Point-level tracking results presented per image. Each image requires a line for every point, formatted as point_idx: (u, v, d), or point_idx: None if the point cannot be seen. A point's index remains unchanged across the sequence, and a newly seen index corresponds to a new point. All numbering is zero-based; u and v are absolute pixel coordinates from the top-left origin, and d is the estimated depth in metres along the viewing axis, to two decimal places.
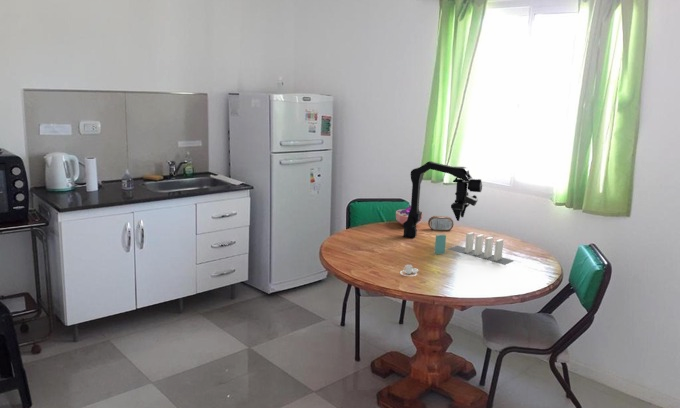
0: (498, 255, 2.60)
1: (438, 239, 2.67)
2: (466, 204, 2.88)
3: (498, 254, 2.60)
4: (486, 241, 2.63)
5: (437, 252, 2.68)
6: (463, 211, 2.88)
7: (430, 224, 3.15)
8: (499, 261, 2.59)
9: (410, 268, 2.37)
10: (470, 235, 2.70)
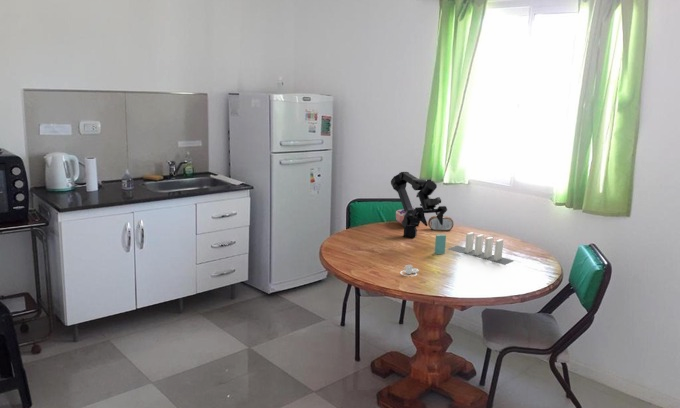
0: (498, 255, 2.60)
1: (438, 239, 2.67)
2: None
3: (498, 254, 2.60)
4: (486, 241, 2.63)
5: (437, 252, 2.68)
6: (440, 218, 2.77)
7: (430, 224, 3.15)
8: (499, 261, 2.59)
9: (410, 268, 2.37)
10: (470, 235, 2.70)
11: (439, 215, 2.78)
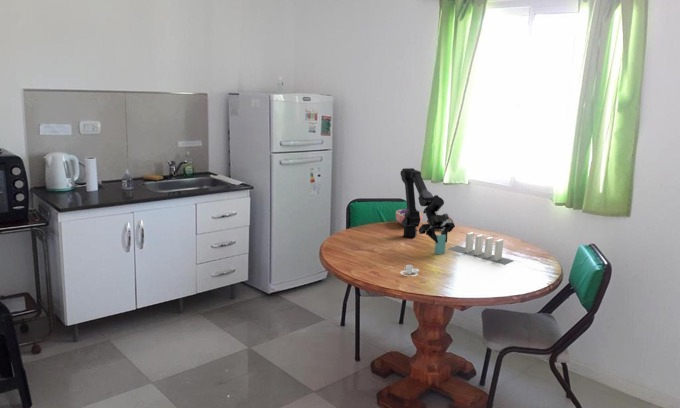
0: (498, 255, 2.60)
1: (438, 239, 2.67)
2: None
3: (498, 254, 2.60)
4: (486, 241, 2.63)
5: (437, 252, 2.68)
6: None
7: None
8: (499, 261, 2.59)
9: (410, 268, 2.37)
10: (470, 235, 2.70)
11: (443, 232, 2.71)
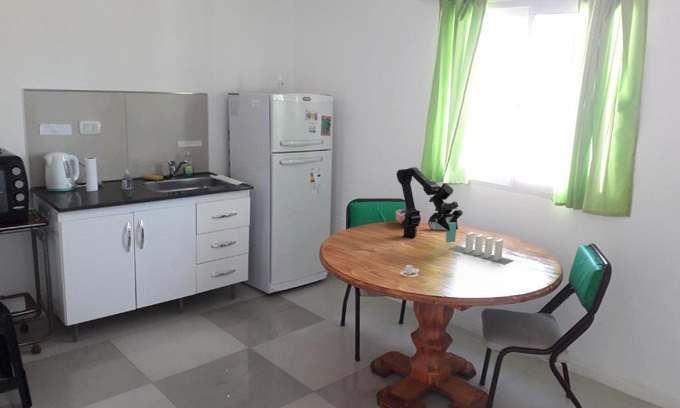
0: (498, 255, 2.60)
1: (450, 227, 2.68)
2: None
3: (498, 254, 2.60)
4: (486, 241, 2.63)
5: (449, 240, 2.69)
6: None
7: (430, 224, 3.15)
8: (499, 261, 2.59)
9: (411, 268, 2.37)
10: (470, 235, 2.70)
11: (453, 220, 2.72)
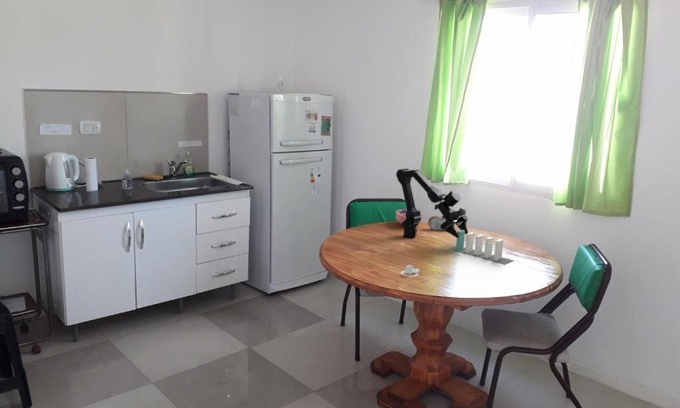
0: (498, 255, 2.60)
1: (460, 235, 2.74)
2: None
3: (498, 254, 2.60)
4: (486, 241, 2.63)
5: (459, 248, 2.75)
6: (464, 228, 2.79)
7: (430, 224, 3.15)
8: (499, 261, 2.59)
9: (411, 268, 2.37)
10: (470, 235, 2.70)
11: (462, 225, 2.80)
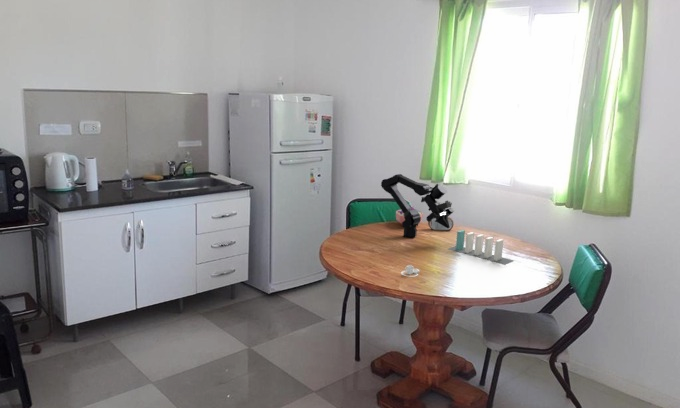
0: (498, 255, 2.60)
1: (460, 235, 2.74)
2: None
3: (498, 254, 2.60)
4: (486, 241, 2.63)
5: (459, 248, 2.75)
6: None
7: (430, 224, 3.15)
8: (499, 261, 2.59)
9: (411, 268, 2.37)
10: (470, 235, 2.70)
11: None
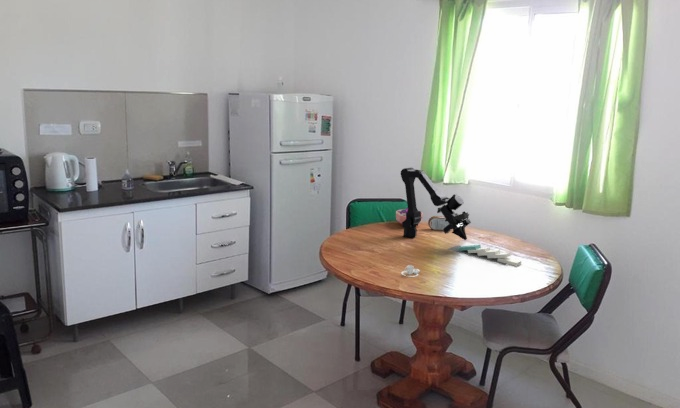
0: None
1: (473, 249, 2.69)
2: None
3: None
4: (502, 255, 2.57)
5: None
6: None
7: (430, 224, 3.15)
8: None
9: (411, 269, 2.37)
10: (485, 251, 2.65)
11: None
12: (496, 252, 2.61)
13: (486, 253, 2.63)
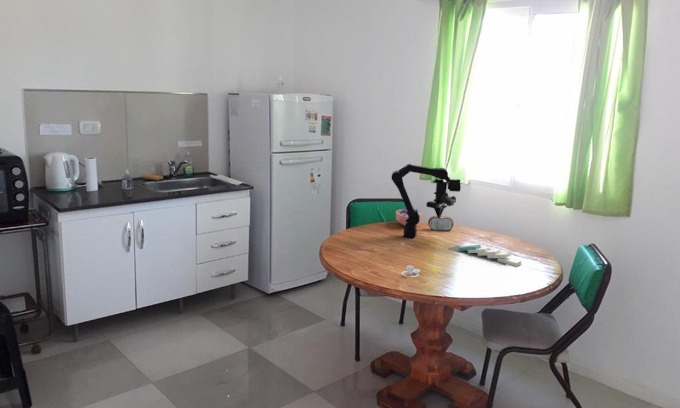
0: None
1: (473, 249, 2.69)
2: (444, 205, 2.95)
3: None
4: (502, 255, 2.57)
5: None
6: None
7: (430, 224, 3.15)
8: None
9: (412, 269, 2.37)
10: (485, 251, 2.65)
11: None
12: (496, 252, 2.61)
13: (486, 253, 2.63)
